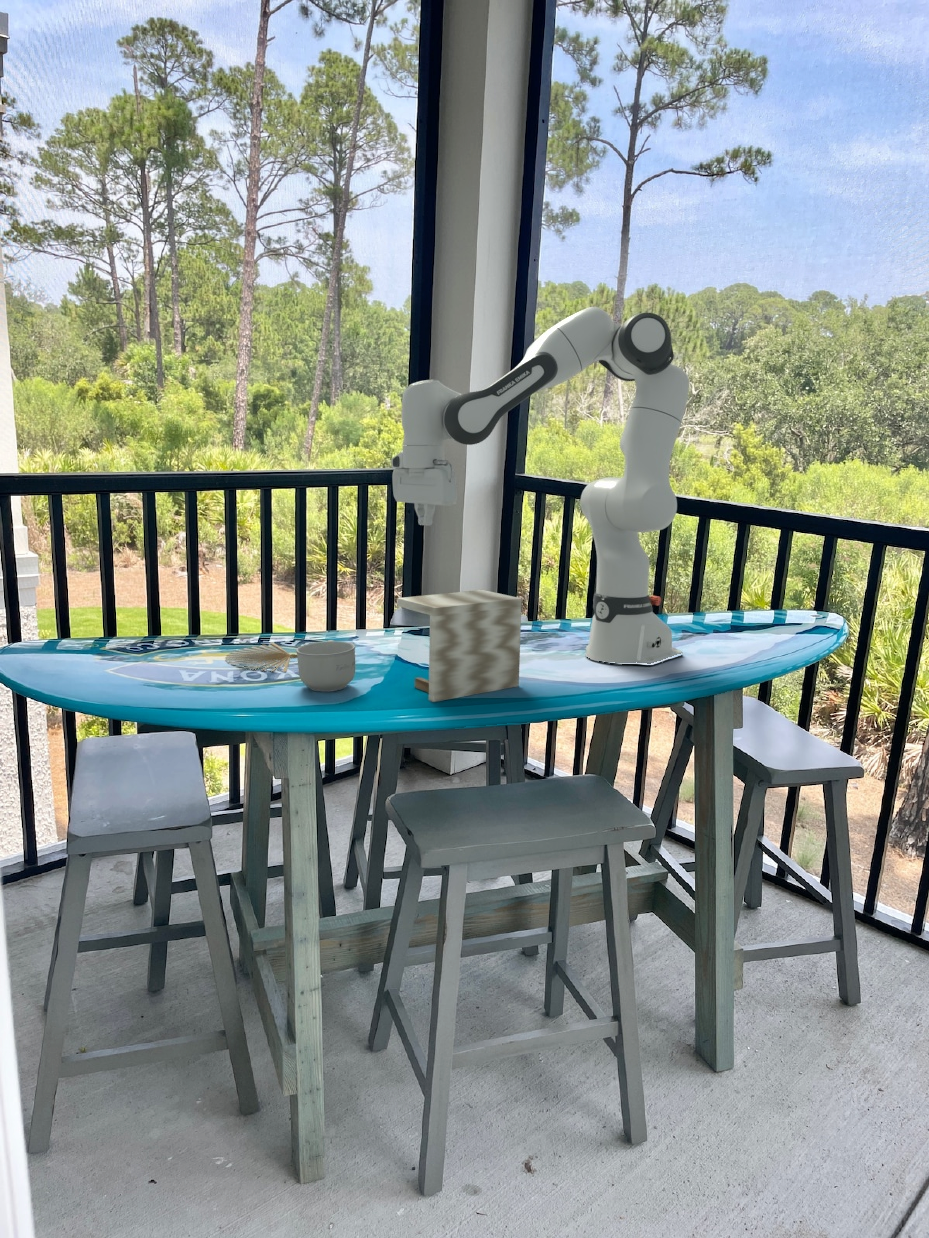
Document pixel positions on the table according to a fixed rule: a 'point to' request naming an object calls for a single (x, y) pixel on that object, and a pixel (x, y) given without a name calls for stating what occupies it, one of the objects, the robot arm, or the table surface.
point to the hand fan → (262, 657)
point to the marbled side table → (469, 642)
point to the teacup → (326, 665)
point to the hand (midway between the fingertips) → (425, 525)
